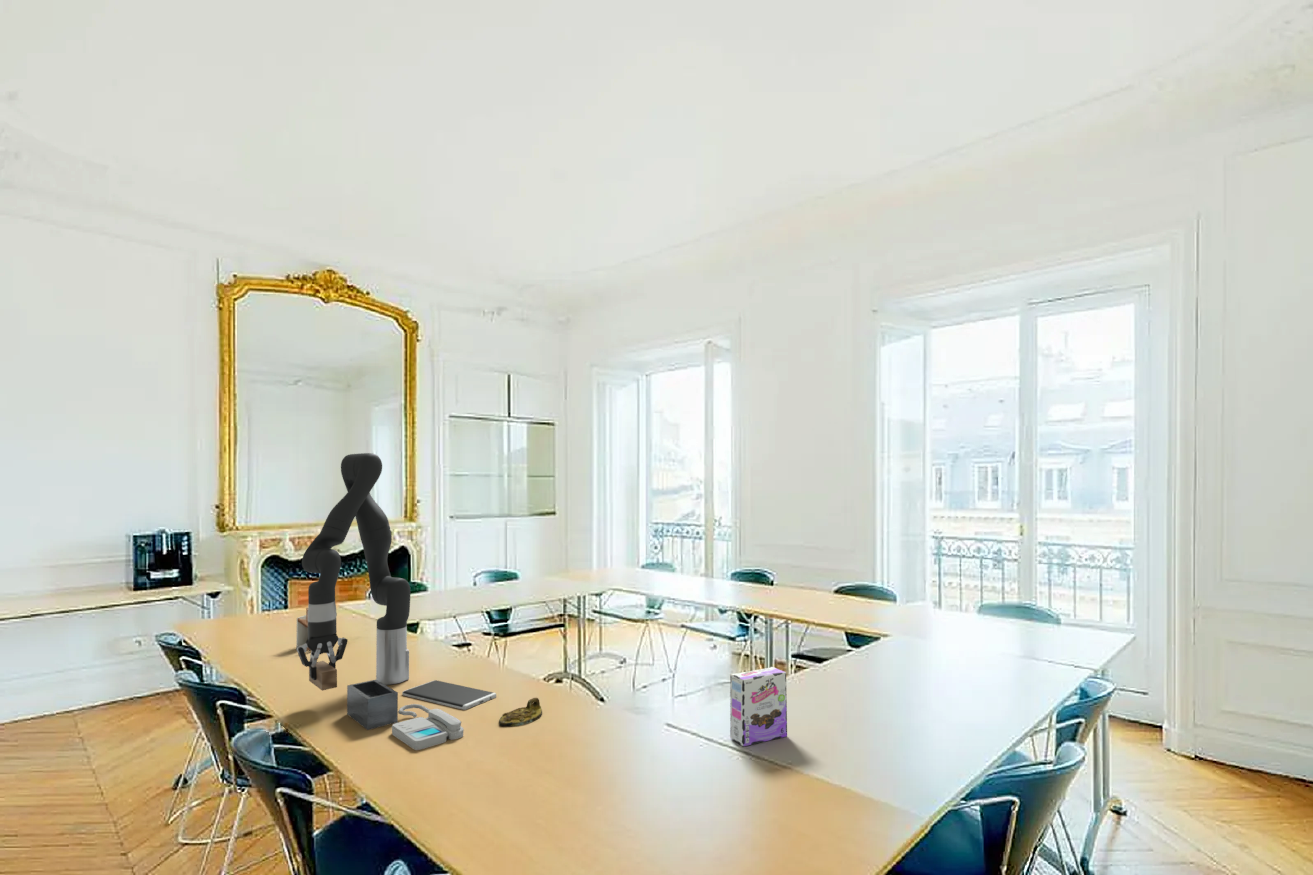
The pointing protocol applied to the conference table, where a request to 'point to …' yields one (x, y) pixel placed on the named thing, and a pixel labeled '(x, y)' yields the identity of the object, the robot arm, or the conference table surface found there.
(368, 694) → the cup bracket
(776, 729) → the candy box
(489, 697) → the smartphone
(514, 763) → the conference table surface
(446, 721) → the intercom
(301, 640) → the staircase
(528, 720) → the seal
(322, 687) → the brown rectangular block
